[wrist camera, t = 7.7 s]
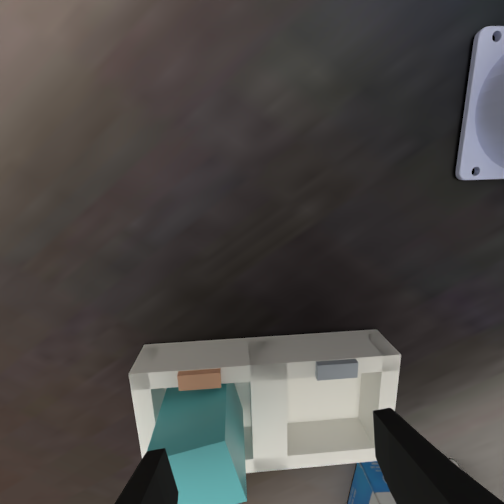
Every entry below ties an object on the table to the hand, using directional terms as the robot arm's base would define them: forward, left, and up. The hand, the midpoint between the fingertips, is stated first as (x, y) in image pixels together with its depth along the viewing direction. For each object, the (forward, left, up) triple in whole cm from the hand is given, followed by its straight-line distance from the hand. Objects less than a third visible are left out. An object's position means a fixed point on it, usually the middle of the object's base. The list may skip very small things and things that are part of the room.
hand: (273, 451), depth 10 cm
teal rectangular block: (+3, +5, -9) cm, 11 cm away
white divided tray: (-1, +5, -10) cm, 11 cm away
